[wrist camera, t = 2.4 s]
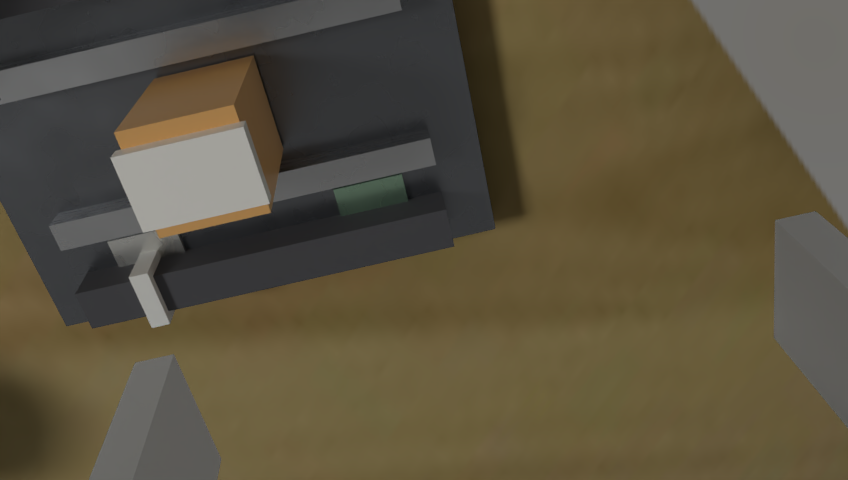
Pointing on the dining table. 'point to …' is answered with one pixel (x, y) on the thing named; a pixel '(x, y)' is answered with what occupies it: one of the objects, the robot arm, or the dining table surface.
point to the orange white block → (200, 149)
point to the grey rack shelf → (254, 252)
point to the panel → (289, 102)
